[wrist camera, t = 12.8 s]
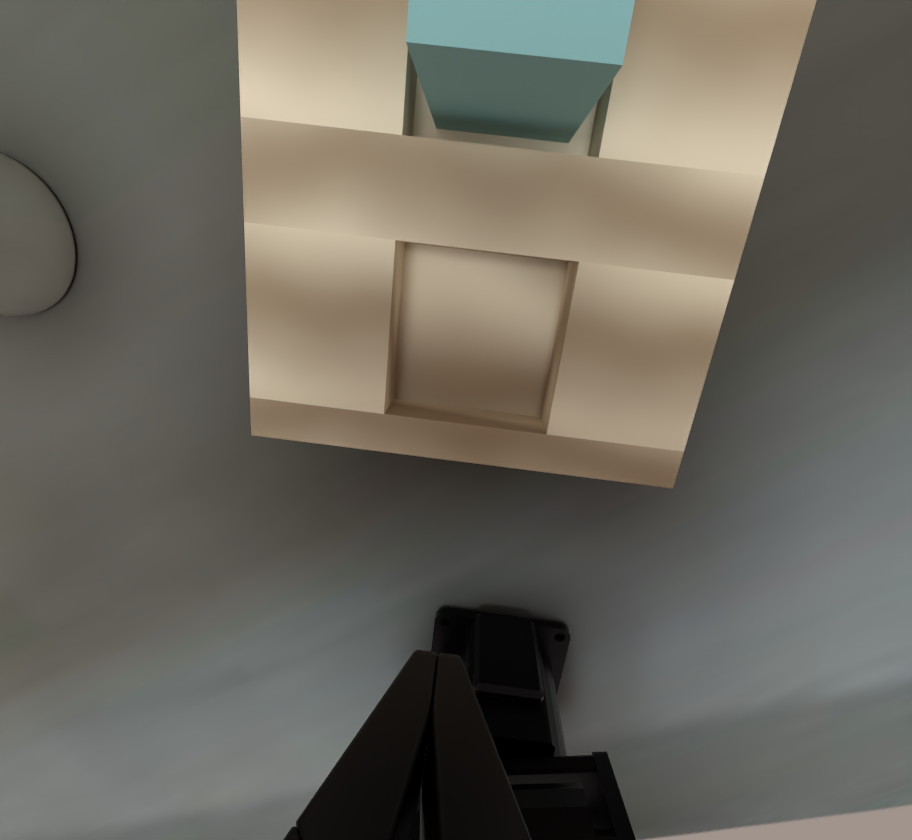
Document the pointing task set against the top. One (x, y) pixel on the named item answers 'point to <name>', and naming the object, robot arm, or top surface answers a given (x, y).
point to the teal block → (516, 62)
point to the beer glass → (31, 243)
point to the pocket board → (499, 239)
